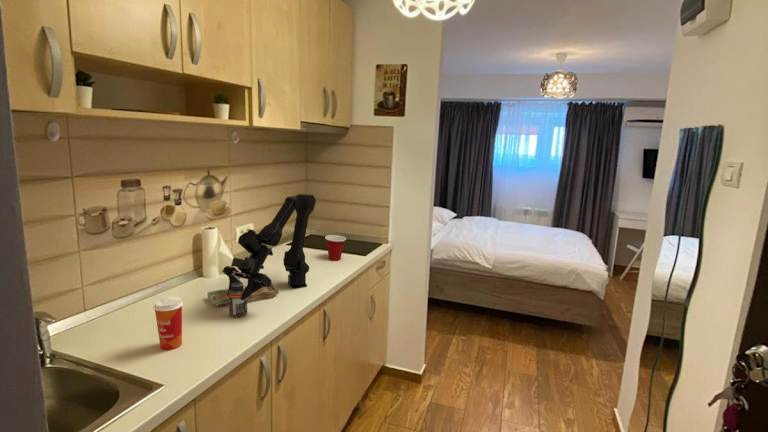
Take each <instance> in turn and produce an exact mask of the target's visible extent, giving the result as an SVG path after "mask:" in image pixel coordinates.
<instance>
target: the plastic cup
mask: <svg viewBox="0 0 768 432" xmlns="http://www.w3.org/2000/svg"><path fill="white" fill-rule="evenodd" d="M324 238H325V243H326V248H327V253H328V258H329V260H330V261H331V262H338V261H341V259H342V254H343V250H344V244H345V241H346V240H347V238H346V237H345V236H342V235H339V234H338V235H335V234H331V235H330V234H329V235H325V237H324Z"/></svg>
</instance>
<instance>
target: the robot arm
mask: <svg viewBox="0 0 768 432" xmlns="http://www.w3.org/2000/svg"><path fill="white" fill-rule="evenodd" d="M316 200H317V199H316V198H315V196H314V195H313V194H307V193H298V194H297V195H291V196H287V197H286V198H285V199H284V202H283V204H282V205H281V207H280V208H279V210H278V211H277V213H276V215H275V216H274V217H273V219H272V221H271V222H270V223H268V224H267V225H264V227H263V228H262V229H261V230H260V231H259V232H258V233H256V231H255V230H254V229H248V231H245V232H244V233H242V234H241V235H239V237H238V239H237V243H238V245H239V246H241V248H243V249H244V250H245V251H246V253H247V252H248V253H247V254H249V256H246V257H244V259H242V258H237V257H233V258H232V262H231V265H226V266H224V268H223V270H221V272H222V273H223V274H224V275H226V276H227V277H228V280H229V283H228V288H227V289H228V293H227V296H228V297H229V291H230V290H231V285H232V284H233V283H237V282H241V283H243V282H242V281H241V280H240V279H245V280H247V285H246V286H247V287H246V289H245V288H244V289H245V291H244V292H243V294H242V297H241V300H244V299H246V298H247V297H248V296H250V295H251V294H252V293H254V292H255V291H257V290H258V289H260V288H263V287H266V288H267V289H268V288H271V287H270V285H271V283H272V279H271V278H270V277H269V276H268V275H267V274H266V273H261V272H260V271H261V270H264V269H265V266H264V263H265V261H266V260H267V259H268V256H271V257H272V256H273V255H274V254H273V253H274V252H273V248H271V247H277V246H278V244H279V243H280V241H281V239H282V236H283V229H284V227H285V225H286V224H287V223H288V221H289V220H290V219H291V216H292V215H293V213H294V212H296V216H295V223H294V227H293V233H292V238H291V245H290V248H289V249H288V251H287V250H286V251H284V255H283V256H284V257H283V260H282V261H283V266H284V269H285V271H286V272H288V275H287V285H288V286H289V287H290V288H292V289H299V288H304V287H307V286H308V285H307V283H306V279H307V278H306V277H307V274H308V272H309V271H310V266H309V264H308V263H307V262H306V255H305V252H304V244H305V239H306V232H307V228H308V222H309V217H310V215H311V214H312V213H313V212H314V209H315V206H316V202H317V201H316ZM268 246H270V247H268ZM262 286H263V287H262Z"/></svg>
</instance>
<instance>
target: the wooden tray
mask: <svg viewBox="0 0 768 432" xmlns="http://www.w3.org/2000/svg"><path fill="white" fill-rule="evenodd" d="M246 287H247V285H245V286H244V289H246ZM262 287H263V286H262ZM269 288H270V289H271V290H270V289H268V288H267V287H263V288H260V289H258V290H257V291H255V292H254V293H252V294H251V295H250V296H248V297H247V304H248V303H252V302H257V301H265V300H270V299H273V298H274V296H275V295H276V296H277V295H279V289H278V288H277V287H276V286H275V285H274V283H273V282H271V285H270V287H269ZM206 292H207V294H206V296H207V298H208V301H209V302H210V305H211V306H218V308H224V307H229V297H228V296H227V293H228V288H224V289H223V288H222V289H216V290H210V291H206Z"/></svg>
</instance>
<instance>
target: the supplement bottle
mask: <svg viewBox="0 0 768 432" xmlns="http://www.w3.org/2000/svg"><path fill="white" fill-rule="evenodd" d="M241 282H242V281H241ZM241 282H237V283H233V284H232V285H231V290H230V291H229V306H228V308H229V309H228V311H229V316H230V317H233V318H241V317H244V316H246V315H247V314H248V303H247V298H246V299H244V300H241V297H242V294H243V292H244V291H245V286H244V282H242V283H241Z"/></svg>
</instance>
